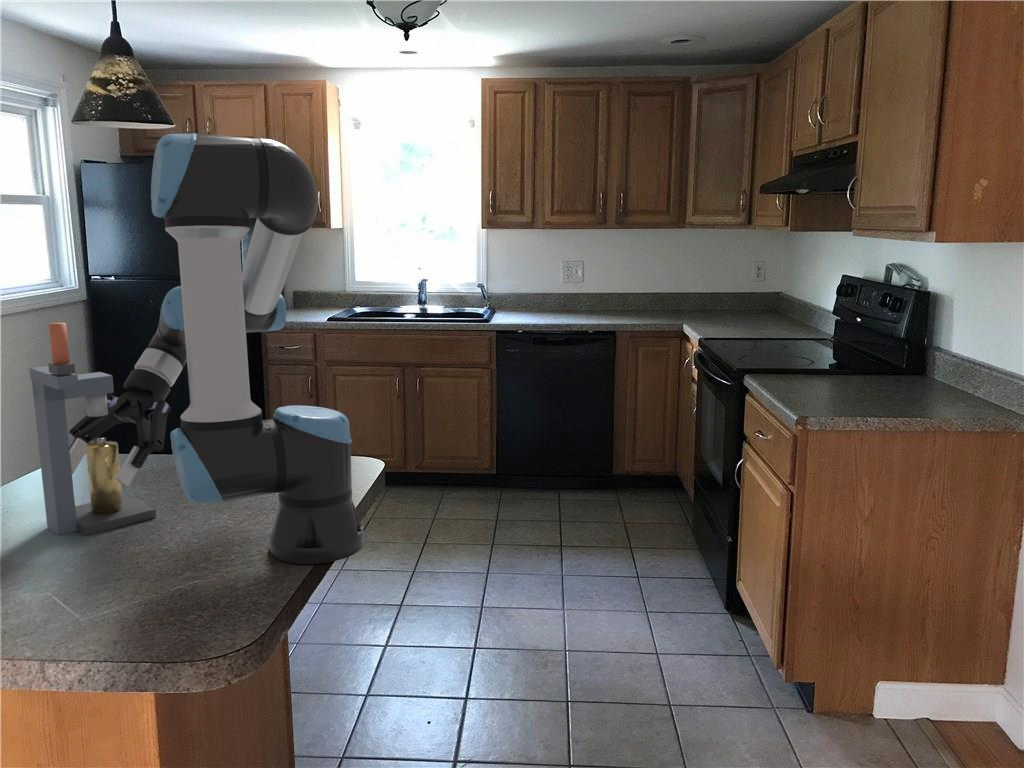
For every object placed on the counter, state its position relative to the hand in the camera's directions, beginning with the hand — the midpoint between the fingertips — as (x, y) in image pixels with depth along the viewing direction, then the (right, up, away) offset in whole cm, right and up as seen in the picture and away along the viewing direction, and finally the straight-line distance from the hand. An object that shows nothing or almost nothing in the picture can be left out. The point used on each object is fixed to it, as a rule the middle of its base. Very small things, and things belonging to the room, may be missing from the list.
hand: (92, 478), depth 140 cm
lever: (+1, +18, -12) cm, 22 cm away
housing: (+1, -6, +3) cm, 7 cm away
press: (+1, -8, +2) cm, 8 cm away
